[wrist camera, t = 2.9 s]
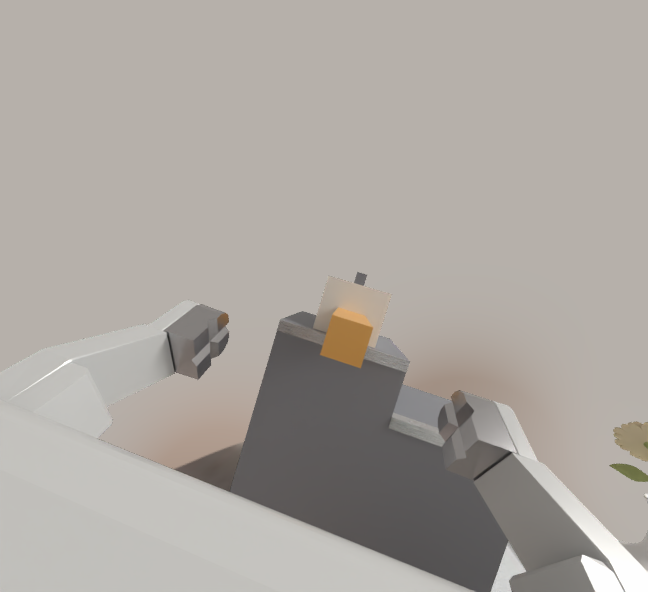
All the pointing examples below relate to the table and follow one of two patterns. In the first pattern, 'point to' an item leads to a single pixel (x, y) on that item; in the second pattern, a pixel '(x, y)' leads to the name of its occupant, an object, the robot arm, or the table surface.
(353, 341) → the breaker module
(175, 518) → the robot arm
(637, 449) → the flower in vase
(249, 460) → the stand
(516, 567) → the table surface
